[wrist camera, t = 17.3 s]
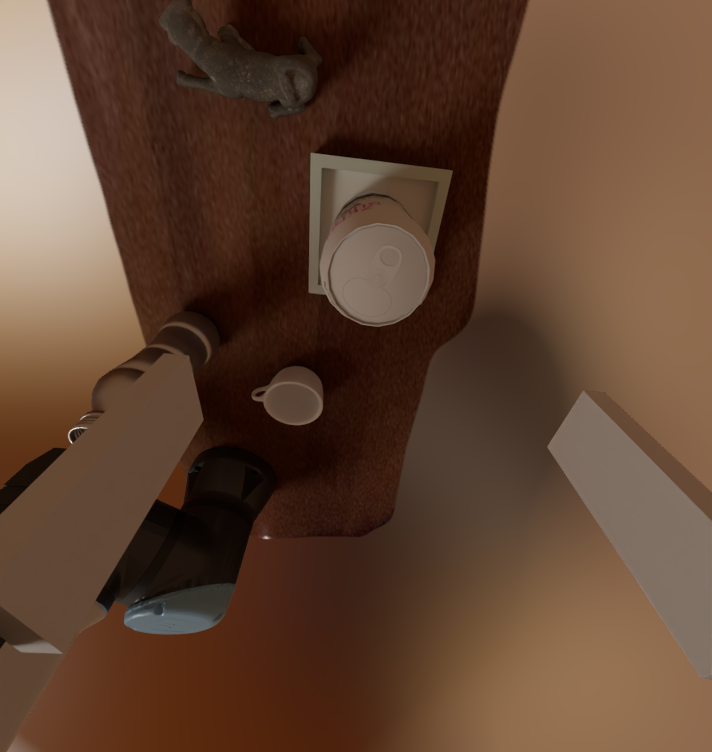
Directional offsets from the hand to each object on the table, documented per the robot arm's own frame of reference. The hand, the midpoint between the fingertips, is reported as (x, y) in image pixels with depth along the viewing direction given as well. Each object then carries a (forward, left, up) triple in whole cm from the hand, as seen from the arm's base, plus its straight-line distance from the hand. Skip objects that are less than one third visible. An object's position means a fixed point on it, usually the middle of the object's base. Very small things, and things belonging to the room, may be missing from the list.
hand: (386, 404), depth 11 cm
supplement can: (0, 0, -28) cm, 28 cm away
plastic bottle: (-14, +21, -29) cm, 38 cm away
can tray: (0, 0, -29) cm, 29 cm away
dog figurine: (+12, +11, -29) cm, 33 cm away
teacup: (-21, +9, -29) cm, 37 cm away
